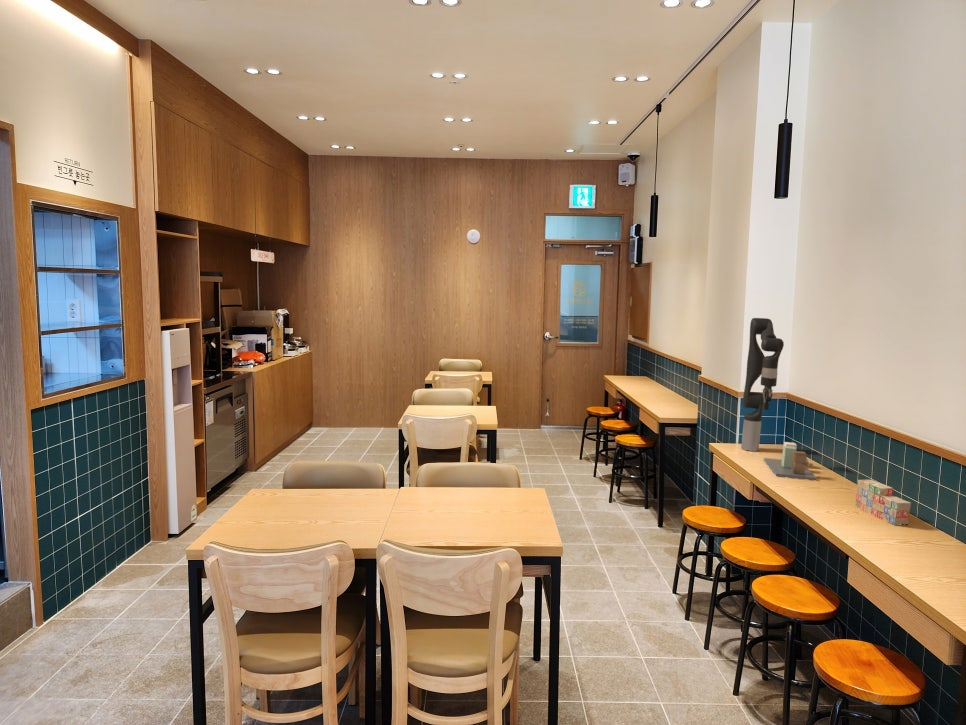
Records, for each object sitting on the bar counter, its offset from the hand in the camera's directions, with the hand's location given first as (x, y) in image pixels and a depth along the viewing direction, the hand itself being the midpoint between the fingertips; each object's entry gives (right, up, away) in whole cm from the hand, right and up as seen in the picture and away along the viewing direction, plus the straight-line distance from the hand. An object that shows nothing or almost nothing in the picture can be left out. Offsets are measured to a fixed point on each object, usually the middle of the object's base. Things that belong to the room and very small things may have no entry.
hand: (765, 409), depth 333 cm
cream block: (+13, -28, +3) cm, 31 cm away
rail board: (+9, -30, -7) cm, 32 cm away
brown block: (+8, -30, -17) cm, 35 cm away
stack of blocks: (+16, -39, -71) cm, 82 cm away
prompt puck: (+22, -29, +8) cm, 38 cm away
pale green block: (+8, -29, -7) cm, 30 cm away
